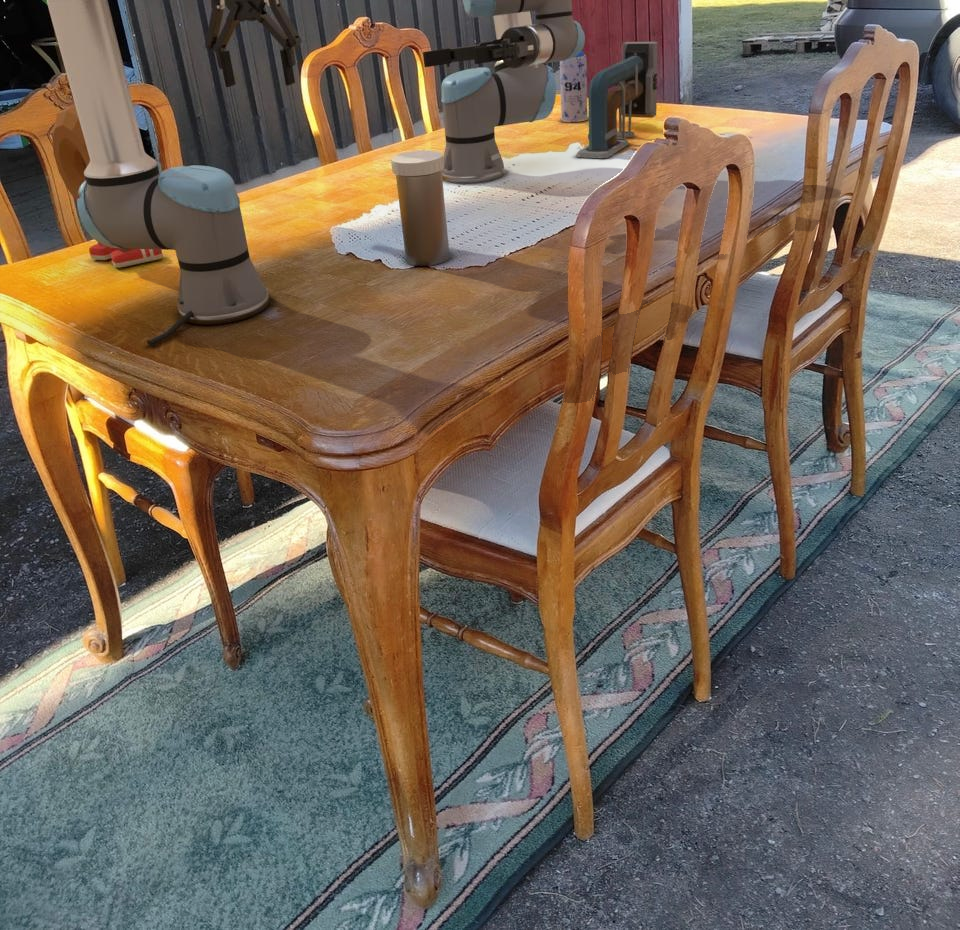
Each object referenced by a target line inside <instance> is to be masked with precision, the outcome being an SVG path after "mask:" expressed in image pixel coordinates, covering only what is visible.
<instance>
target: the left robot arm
mask: <svg viewBox="0 0 960 930" xmlns="http://www.w3.org/2000/svg"><path fill="white" fill-rule="evenodd" d="M46 4H47V7H48V12H49V15H50V19H51V22H52V26H53V29H54V33H55V37H56V40H57V44H58V47H59V51H60V54H61V55H60V56H61V58H62V63H63V66H64V69H65V73H66V77H67V80H68V85H69V87H70V91H71V96H72V98H73V101H74V104H75V106H76V110H77V113H78V117H79V121H80V124H81V128H82V132H83V135H84V139H85V143H86V146H87V150H88V153H89V157H90V163H89V164H88V166H87V168H86V169H85V171H84V175H85V179H86V181H84V182H83V184H82V185H81V187H80V189H79V192H78V195H79V196H80V198H79V199H78V200H77V201H76V205H77V211H78V212H77V213H78V215H79V219H80V221H81V224H82V226H83V228H84V229H85V231H86V232H87V233H88V235H89V236H90V237H91V238H92V239H93V240H95V241H96V242H97V243H98V242H99V243H101V244H102V245H104V246H107V247H113V248H120V249H124V250H133V249H159V250H163V251H167V250H169V251H170V250H172V251H175V254H176V258H177V262H178V266H179V283H178V294H177V310H178V314H179V319H178V320H177V321H175V323H174V324H173V325H172V326H170V327H169V328H168V329H167V330H166V331H164V332H162V333H161V334H159V335H156V336H154V337H152V338H150V339H147V341H146V342H147V345H148V346H153V345H155V344H158V343H160V342H162V341H164V340H166V339H167V338H169V337H170V336H172V335H173V334H175V332H177V330H178V329H179V328H181V327H182V326H183V325H184V324H185V323H189V324H193V325H202V326H203V325H204V326H205V325H206V326H210V325H222V324H230V323H233V322H239V321H241V320H245V319H248V318H251V317H253V316H256V315H258V314H260V312H263V311H264V310H265V309H266V308H267V307H268V306H269V305H270V296H269V291H268V290H267V287H266V284H265V283H264V282H263V280H262V278H261V276H260V274H259V272H258V270H257V269H256V267H255V265H254V264H253V262H252V260H251V257H250V251H249V246H248V241H247V236H246V232H245V226H244V225H245V224H244V220H243V216H242V210H241V206H240V204H241V199H240V196H239V194H238V191H237V188H236V184H235V181H234V179H233V177H232V176H231V175H230V174H229V173H227V171H225V170H223V169H221V168H217V167H214V166H208V165H198V164H197V165H195V164H194V165H187V166H185V165H180V166H173V167H169V168H166V169H164V170H162V171H161V172H160V170H159V165H158V161H157V160H156V159H154V158H153V157H152V156H150V155H149V154H147V152H146V151H145V148H144V142H143V139H142V135H141V132H140V127H139V123H138V120H137V116H136V112H135V107H134V103H133V99H132V95H131V91H130V87H129V83H128V79H127V74H126V70H125V67H124V63H123V59H122V58H123V57H122V54H121V50H120V46H119V42H118V38H117V34H116V30H115V26H114V22H113V17H112V13H111V9H110V6H109V1H108V0H46ZM210 4H211V5H210V6H211V14H210V17H209V23H208V27H207V33H206V38H205V43H204V47H205V49H206V50H211V51H214V53H215V57H216V62H217V66H218V68H219V70H222V75H223V79H224V85H225V88H230V87H233V86H235V85H236V79H235V73H234V69H233V63H232V58H231V53H230V50H227V48H226V47H227V46H228V44H229V41H230V39H231V37H232V35H233V33H234V31H235V29H236V27H237V25H238V23H240V22H246V21H248V22H254V21H257V22H258V23H260V24H261V25H262V26H263V27H264V28H265V29H266V31H267V32H268V33H269V34H270V35H271V36H272V37H273V38H274V39H275V40H276V41H277V43H278V45H280V46H281V47H282V48H281V49H279V53H280V59H281V64H282V65H281V66H282V71H283V77H284V83H285V86H291V85H294V84H295V83H296V80H295V79H296V78H295V73H294V66H296V56H295V49H294V48H295V47H296V46H298V45H301V44H302V37H301V36H300V35H299V33H298V31H297V30H296V28H295V26H294V25H293V22H292V21H291V19H290V18H289V15H288V14H287V12H286V11H285V9H284V7H283V5H282V1H281V0H210ZM266 5H267V7H268V8H270V10H271V13H272V14H273V16H274V17H275V19H276V21H277V22H278V24H277V23H276V22H275V20H274V19H273V18H272V16H271V14H270V13H269V12H268V11H267V9H265V6H266ZM225 8H227V9H228V11H229V12H228V14H227V16H226V18H225V23H224V25H223V27H222V29H221V25H222V22H223V21H222V20H223V15H224V10H225ZM220 30H221V31H220Z"/></svg>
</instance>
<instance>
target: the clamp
mask: <svg viewBox="0 0 960 930" xmlns="http://www.w3.org/2000/svg"><path fill="white" fill-rule="evenodd" d="M621 46H622V48H621V49H622V52H621V53H622V55H621V56H622V60H620V61H619V62H617V63H614V64H612V65H610V66H608V67H606V68H604V69H602V70H599V71H598V72H597V73H596V74H595V75H594V76H593V77H592V78H591V81H590V82H589V85H588V91H587V109H588V134H587V139H588V145H587V146H585V147H583V148H582V149H580V150H578V151H577V153H576V154H575V157H577V158H586V159H587V158H588V159H608V158H610V157H611V156H613V155H614V154H617V152H619V151H621V150H622V149H624V148H626V147H627V146H629V145H630V142H629V141H628V139H627V138H633V137H635V136H636V133H635V131H632V118H647V119H648V118H649V119H652V118H654V117H656V116H657V106H658V105H657V102H658V101H657V99H658V98H657V97H658V95H657V94H658V47H659V45H658V41H626V42H623V43H622V45H621ZM613 87H616V88H614V89H612V90H610V91H609V89H611V88H613ZM608 91H609V92H608ZM617 116H618V117H617ZM626 118H628V125H627V130H626ZM617 119H618V120H617ZM617 121H618V122H617ZM617 125H618V126H617Z"/></svg>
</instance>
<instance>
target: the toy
mask: <svg viewBox="0 0 960 930" xmlns="http://www.w3.org/2000/svg"><path fill="white" fill-rule="evenodd" d="M51 140H52V152H53V153H52V154H53V157H54V160H55V164H56V167H57V171H58V173H59V175H60V177H61V180H62V181H63V183H64V186H65V188H66V189H67V191H68V192H69V193H70V195H71V196H72V198H73V199H74V200H75V201H76V202H77V200H78V199H79V198H80V196H79V195H78V192H79V189H80V187H81V185H82V184H83V182H84V181H86V179H85V175H84V171H85V169H86V168H87V166H88V164H89V163H90V157H89V153H88V150H87V146H86V143H85V139H84V135H83V132H82V128H81V124H80V121H79V117H78V113H77V110H76V106H75V103H74V104H72V105H70V106H68V107H66V108H64V109H62V110H61V111H59V112H58V113H56V116H55V119H54V124H53V127H52V136H51ZM88 252H89V255H90V256H89V257H90V259H92V260H96V261H107V260H108V261H109V260H110V259H111V262H112V264H113V266H114V267H115V268H119V269H120V268H126V267H130V266H134V265H135V266H136V265H140V264H144V263H148V262H154V261H157V260H161V259H163V257H164V254H163V251H162V250H159V249H133V250H124V249H120V248H113V247H107V246H104V245H102V244H101V243H99V242H97V243H95V244H93V245H92V246H89V249H88Z"/></svg>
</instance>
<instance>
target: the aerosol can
mask: <svg viewBox="0 0 960 930" xmlns="http://www.w3.org/2000/svg"><path fill="white" fill-rule="evenodd" d="M559 79H560V81H559V83H560V84H559V85H560V113H561V115H560V116H561V117H560V121H561V122H563V123H580V122H584V121H587V120H589V115H588V63H587V55H586V54H585V52H584V51H583V50H582V51H581V52H580V53H579V54H578V55H577V56H576V57H574V58H570V59H567V60H565V61H559Z"/></svg>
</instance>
